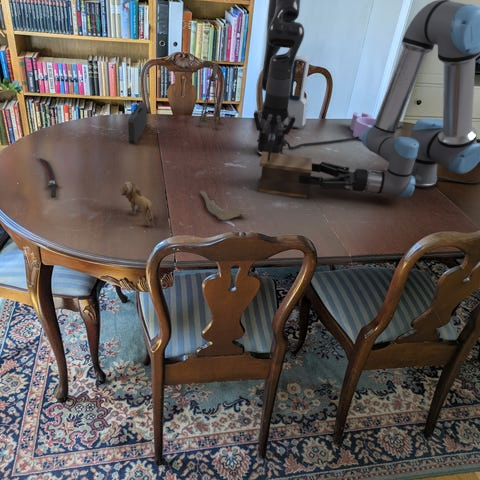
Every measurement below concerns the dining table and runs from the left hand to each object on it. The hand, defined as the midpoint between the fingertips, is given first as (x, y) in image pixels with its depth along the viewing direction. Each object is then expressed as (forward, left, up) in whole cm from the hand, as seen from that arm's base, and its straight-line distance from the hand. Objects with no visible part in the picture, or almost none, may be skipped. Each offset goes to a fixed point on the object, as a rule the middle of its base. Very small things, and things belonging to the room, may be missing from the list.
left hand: (270, 144), depth 153 cm
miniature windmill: (-13, -59, -15) cm, 62 cm away
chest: (-5, +4, -15) cm, 16 cm away
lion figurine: (+47, +2, -15) cm, 50 cm away
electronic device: (-49, -46, -15) cm, 69 cm away
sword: (+64, -33, -15) cm, 74 cm away
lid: (-4, +4, -6) cm, 8 cm away
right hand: (-8, +7, -8) cm, 14 cm away
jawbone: (+21, +7, -15) cm, 27 cm away
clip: (-75, -24, -15) cm, 81 cm away
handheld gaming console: (+21, -59, -15) cm, 65 cm away
